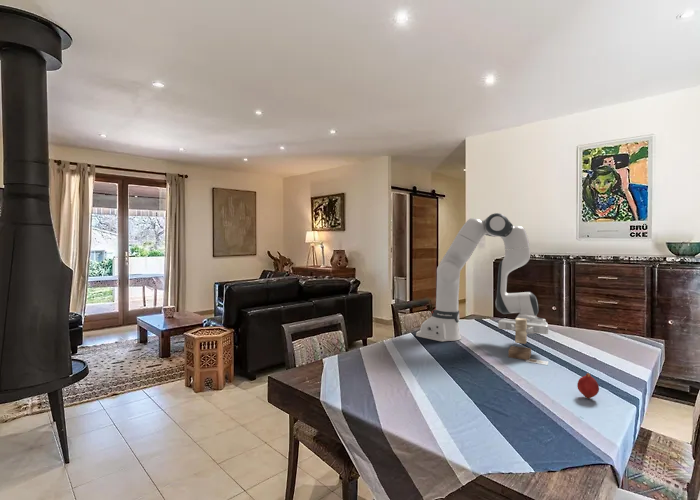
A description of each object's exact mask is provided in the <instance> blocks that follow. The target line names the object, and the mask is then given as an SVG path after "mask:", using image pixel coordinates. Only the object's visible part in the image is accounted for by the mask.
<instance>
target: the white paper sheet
mask: <svg viewBox="0 0 700 500" xmlns="http://www.w3.org/2000/svg"><path fill="white" fill-rule="evenodd" d="M525 362H526V363H530V362H531V364H536V363H537V364H538V365H544V366H548V365H549V361H548V360H547V361H546V360H540V359H535V358H530V359H529V360H525Z"/></svg>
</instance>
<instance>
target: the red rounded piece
mask: <svg viewBox="0 0 700 500" xmlns="http://www.w3.org/2000/svg"><path fill="white" fill-rule="evenodd" d="M591 375H592V374H590V373H586V374H585V375H584V376H581V377H580V378H579V379H578V381H577V385H576V386H577V390H578V391H579V392H580V393H581V394H582V395H583V397H584V398H586V399H591V398H594V397H596V396H597V395H598V394H599V392H600V386H599V383H598V382H597V380H596V378H594V377H593V376H591Z"/></svg>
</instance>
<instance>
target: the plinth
mask: <svg viewBox="0 0 700 500" xmlns="http://www.w3.org/2000/svg"><path fill="white" fill-rule="evenodd" d="M531 357H532V348H531V347H525V346H524V347H523V346H516V345H515V346H514V345H511V346H510V347H509V348H508V358H511V359H519V360H525V361H526V360H529V359H531Z"/></svg>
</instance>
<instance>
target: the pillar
mask: <svg viewBox="0 0 700 500" xmlns="http://www.w3.org/2000/svg"><path fill="white" fill-rule="evenodd" d="M515 319H516V325H515V331H514V332H515V335H514V337H515V338H514V339H515V340H514V341H515V344H522V345H523V344H524V345H525V344H527V343H528V342H527V338H528V337H527V335H528V334H527V332H526V328H527V319H524V318H516V317H515Z"/></svg>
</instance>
